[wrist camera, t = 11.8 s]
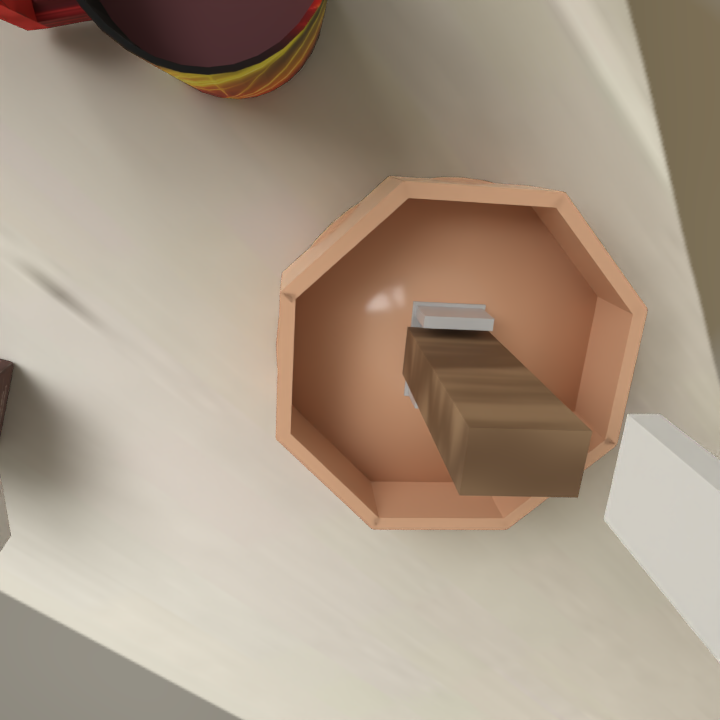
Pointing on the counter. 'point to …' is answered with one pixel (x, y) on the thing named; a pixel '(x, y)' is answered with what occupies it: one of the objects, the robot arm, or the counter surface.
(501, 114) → the counter surface
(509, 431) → the wooden rectangular block
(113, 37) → the mug
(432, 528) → the octagonal terracotta bowl
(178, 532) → the counter surface
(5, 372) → the box
